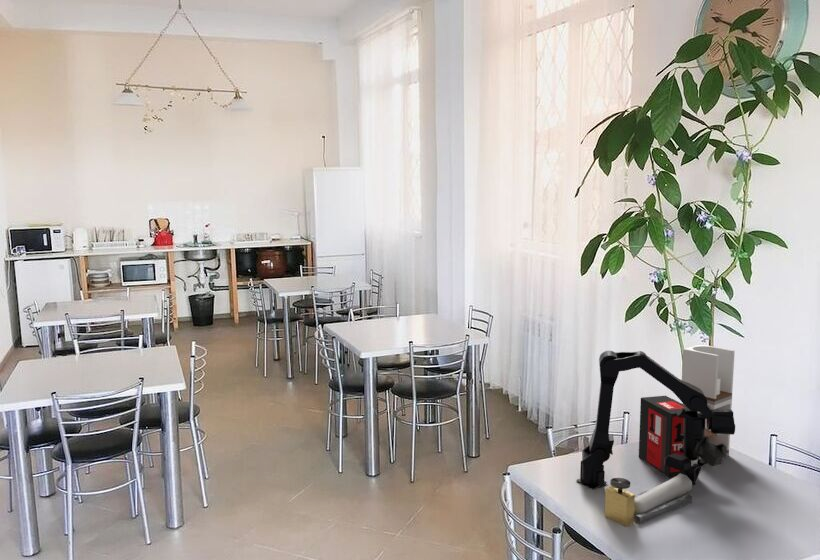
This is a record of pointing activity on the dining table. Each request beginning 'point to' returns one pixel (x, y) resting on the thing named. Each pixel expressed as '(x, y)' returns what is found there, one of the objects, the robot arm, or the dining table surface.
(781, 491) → the dining table surface
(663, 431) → the cleaning product box
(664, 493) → the tube
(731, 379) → the display case
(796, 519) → the dining table surface
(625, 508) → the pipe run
